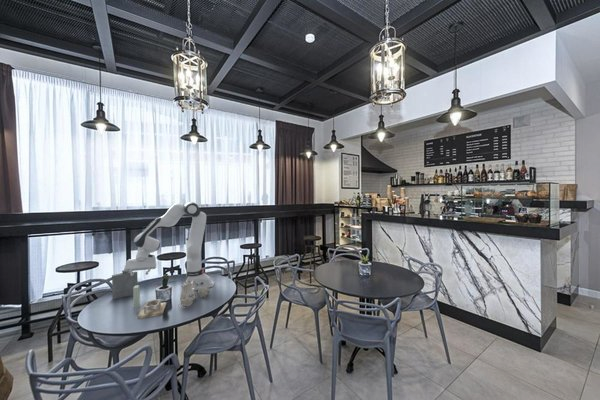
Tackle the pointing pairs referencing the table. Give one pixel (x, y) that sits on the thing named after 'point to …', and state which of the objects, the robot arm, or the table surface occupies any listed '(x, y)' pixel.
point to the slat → (136, 296)
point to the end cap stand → (152, 309)
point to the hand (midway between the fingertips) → (139, 274)
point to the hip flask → (123, 284)
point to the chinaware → (190, 293)
